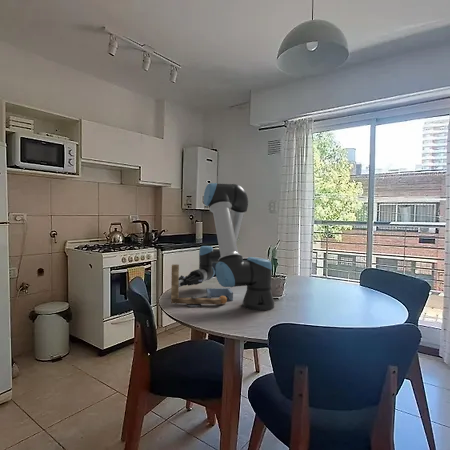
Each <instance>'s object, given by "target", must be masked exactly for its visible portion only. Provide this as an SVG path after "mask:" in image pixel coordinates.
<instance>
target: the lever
mask: <svg viewBox="0 0 450 450" xmlns="http://www.w3.org/2000/svg"><path fill="white" fill-rule="evenodd" d="M179 271H180V264H176V263H175V264H172V265H171V281H170V282H171V283H170V284H171V288H170V289H171V291H170V292H171V293H170V294H171V295H170V297H171V298H170V299H171V300H170V302H171V303H170V304H183V305H184V304H185V305H186V304H201V305H222V304H221V298H218V297H217V298H214V297H211V298H207V297H196V296H191V297H179V296H180V295H179V289H180V287H179V277H180V272H179Z"/></svg>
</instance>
